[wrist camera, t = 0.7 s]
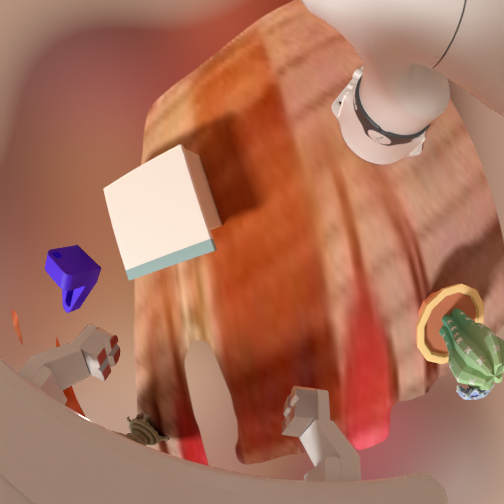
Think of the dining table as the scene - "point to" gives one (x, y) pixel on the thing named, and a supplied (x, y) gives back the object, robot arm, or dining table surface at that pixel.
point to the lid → (158, 215)
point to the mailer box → (203, 190)
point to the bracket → (72, 274)
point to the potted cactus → (461, 339)
